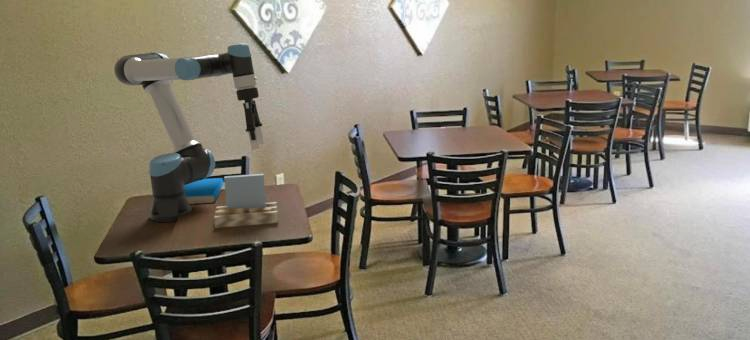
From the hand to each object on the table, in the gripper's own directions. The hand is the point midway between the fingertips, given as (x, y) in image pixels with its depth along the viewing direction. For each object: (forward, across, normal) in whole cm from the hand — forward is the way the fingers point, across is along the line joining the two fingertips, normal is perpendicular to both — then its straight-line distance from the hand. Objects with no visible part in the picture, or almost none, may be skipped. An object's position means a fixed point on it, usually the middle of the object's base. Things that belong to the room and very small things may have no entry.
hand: (258, 146), depth 217 cm
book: (+21, +39, +34) cm, 56 cm away
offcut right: (+26, -3, +4) cm, 27 cm away
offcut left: (+25, -4, +14) cm, 29 cm away
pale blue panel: (+25, +2, +9) cm, 27 cm away
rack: (+27, 0, +9) cm, 29 cm away
